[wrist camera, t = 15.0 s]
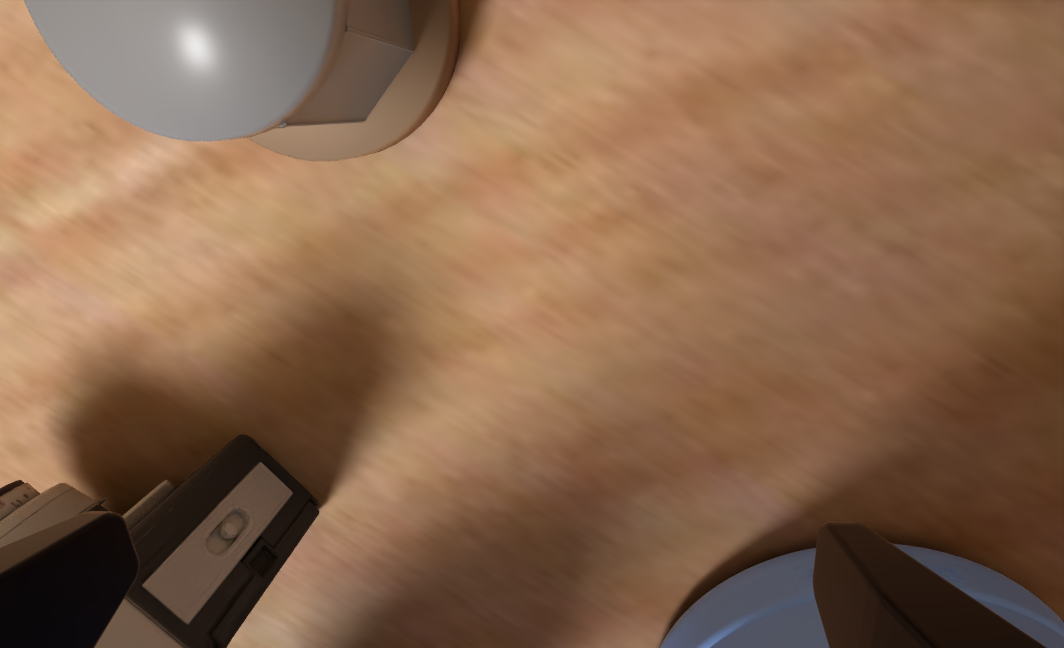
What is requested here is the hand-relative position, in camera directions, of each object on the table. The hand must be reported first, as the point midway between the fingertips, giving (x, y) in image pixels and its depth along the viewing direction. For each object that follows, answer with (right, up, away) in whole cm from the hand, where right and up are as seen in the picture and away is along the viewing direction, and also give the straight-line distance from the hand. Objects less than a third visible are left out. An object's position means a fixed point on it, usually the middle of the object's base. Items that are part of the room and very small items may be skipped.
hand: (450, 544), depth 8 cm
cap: (-5, +11, +8) cm, 14 cm away
